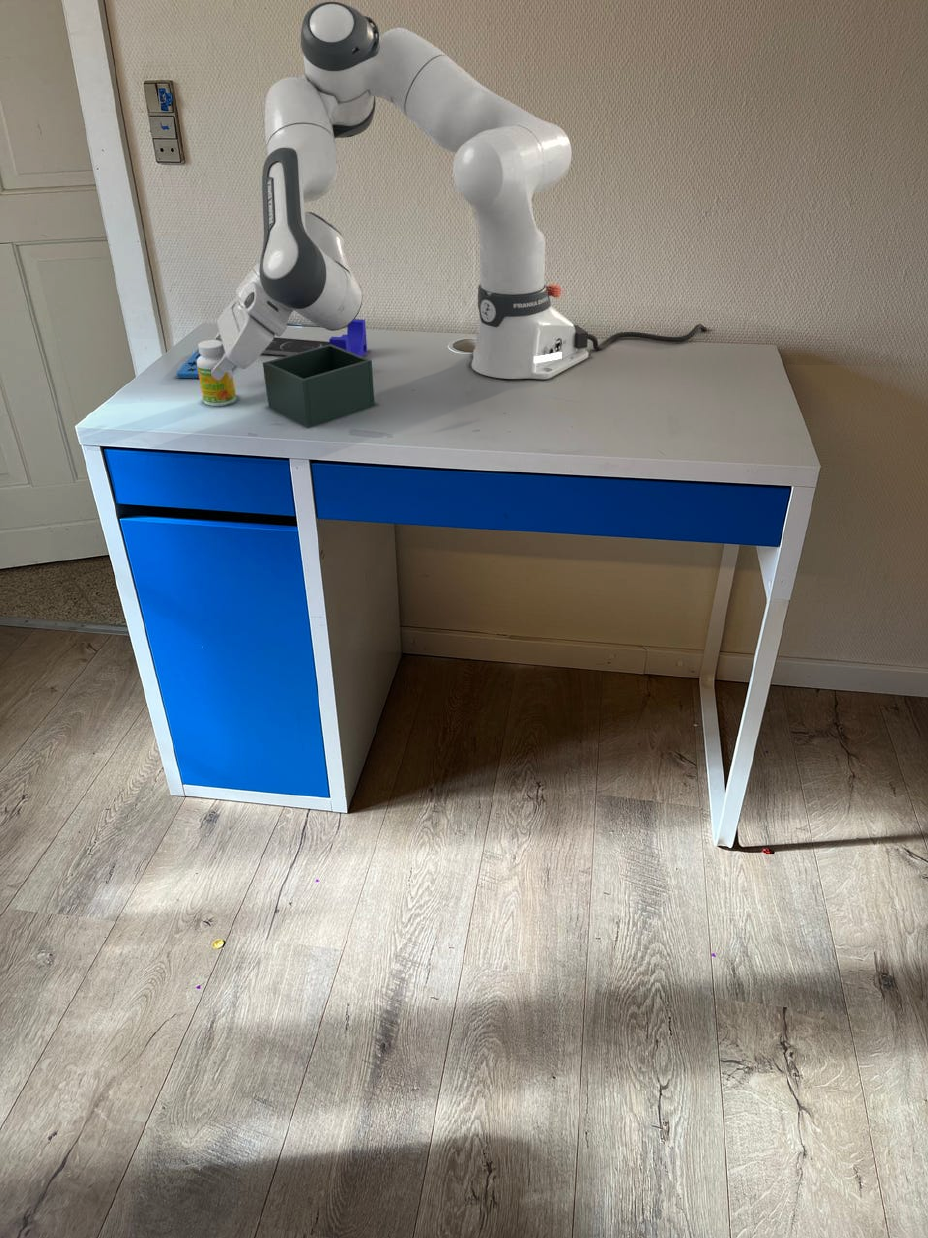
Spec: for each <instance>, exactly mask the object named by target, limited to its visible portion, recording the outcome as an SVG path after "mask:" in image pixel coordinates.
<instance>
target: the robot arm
mask: <svg viewBox="0 0 928 1238" xmlns="http://www.w3.org/2000/svg"><path fill="white" fill-rule="evenodd" d="M300 29H301V30H300V48H301V51H302V57H303V67H304V68H303V69H304V73H302V74H301V76H299V77H297V76H289V77H285V78H281V79H279V80H278V81H276V82H275V83H274V84H272V86H271V87H270V88H269V90H268V91H267V93H266V97H265V102H264V103H265V104H264V136H265V137H264V138H265V144H266V153H267V157H266V158H265V161H264V163H263V167H262V172H261V192H262V193H261V195H262V197H261V199H262V215H263V216H262V219H263V220H262V223H263V243H262V250H261V254H260V261H259V262H257V263H255V265H254V266H253V267H252V268H251V269H250V271H249V272H248V274H247V275H246V276H245V277H244V279H243V280H241V282H240V283H239V285H238V286H237V287H236V289H235V291H234V292H235V293H236V296H235V297H234V298H233V299H232V300H231V302H230V303H229V304H228V305H227V306H226V308H225V309H224V310H223V311H222V312H221V314H220V315H219V317H218V318H217V321H216V324H217V328H218V332H217V333H216V335H215V336H214V339H213V340H219V341H222V343H223V347H224V351H225V354H224V355H223V357H222V359H221V360H220V361H219V363H218V364H215V365H214V367H213V368H212V369H211V371H210V372H211V376H212V377H213V378H215V379H216V380H218V381H219V380H221V379H222V377H223V376H224V375H225V374H226V373H227V372H229V371H230V370H232V371H233V369H234V368H235V367H236V366H237V367H238V368H239V369H241V370H245V369H247V368H249V367H250V366H251V365H252V364H253V363H254V362H255V361H256V360H257V359H258V358H259V357H260V356H261V355H262V354H263V353H262V352H263V351H264V350H265V349H266V348H267V347H268V346H269V345H270V343H271V342H272V340H273V339H274V337H277V338H281V336H282V335H283V334H284V333H285V331H286V330H287V328H288V323H289V322H288V321H289V319H290V317H291V316H292V313H293V312H295V313H297V314H299V315H300V316H302V317H303V318H305V319H307V320H308V321H310V322H311V323H313V324H314V325H316V326H318V327H319V328H322V329H325V330H327V331H331V332H336V331H340V330H342V329H345V328H346V327H347V326H348V325H349V324H350V323H351V322H352V321H353V320H354V319H357V316H358V315H359V313H360V311H361V308H362V305H363V296H364V295H363V289H362V287H361V285H360V283H359V282H358V281H357V279H356V277H355V274H354V272H353V271H352V269H351V266H350V264H349V262H348V259H347V255H346V252H345V238H344V236H343V234H342V233H341V232H340V231H339V230H338V229H337V228H336V226H334V225H333V224H332V223H329V222H328V221H327V220H326V219H325V218H323V217H322V216H320V215H318V214H316V213H315V212H312V211H306V210H305V204H307V203H312V202H316V201H317V200H320V199H322V198H323V197H325V196H326V195H328V193H330V192H331V190H332V189H333V188H334V187H335V185H336V183H337V181H338V179H339V155H338V149H337V144H336V139H345V138H346V139H347V138H352V137H356V136H357V135H360V134H361V133H364V132H365V131H366V130H367V129H368V128H369V127H370V126H371V125H372V123H373V120H374V117H375V111H376V102H377V99H376V98H381V99H383V100H386V101H387V102H389V103H391V104H393V105H394V106H395V107H396V109H398V110H399V111H400V112H401V113H402V114H403V115H404V116H405V117H407V119H408V120H409V121H411V122H412V123H413V124H414V125H415V126H417V127H418V128H419V129H420V130H421V131H422V132H423V133H424V134H426V135H427V136H428V137H429V138H430V139H431V140H433V142H435V144H437V145H438V146H439V147H441V148H442V149H444V150H446V151H449V152H452V153H455V156H454V158H453V164H452V178H453V183H454V186H455V188H456V189H457V192H458V193H459V195H460V196H461V198H463V200H465V201H466V202H467V203H468V205H469V207H470V210H471V212H472V215H473V218H474V221H475V225H476V229H477V234H478V241H479V267H480V269H479V271H480V274H479V276H480V277H479V278H480V281H479V282H480V283H479V285H478V287H477V308H478V313H479V314H478V318H477V319H478V320H477V329H476V336H475V337H476V338H475V346H474V348H473V351H472V356H473V357H472V361H471V365H470V366H471V369H472V370H473V371H474V372H476V373H478V374H480V375H483V376H486V377H489V378H490V377H491V378H496V379H503V380H523V379H530V380H531V379H533V380H549V379H551V378H553V377H555V376H558V375H559V374H560V373H563V372H564V371H566V370H568V369H570V368H572V367H573V366H576V365H577V364H579V363H581V362H582V361H584V360H586V359H588V358H589V351H588V350H587V349H586V348H588V340H590V341H591V342H592V347H593V350H595V351H602V350H604V349H605V348H606V347H608V346H609V345H610V344H611V343H612V342H614V341H616V340H619V339H622V338H639V339H646V340H652V341H656V342H664V343H682V342H686V341H688V340H690V339H692V338H693V337H694V336H695V335H696V334H697V333H698V332H699V331H700V330H701V332H702V333H707V332H708V331H709V330H708V328H707V327H706V326H705V325H704V324H703V325H704V326H705V327H704V326H703V325H702V323H698V324H696V325H695V326H694V328H692V330H691V331H689V333H687V334H684V335H681V336H665V335H659V334H658V335H657V334H652V333H646V332H640V331H639V332H638V331H621V332H617V333H614V334H612V335H611V336H610V337H608V338H607V339H606V340H605V341H604V342H603V344H601V345H599V340H598V337H596V336H595V335H593V334H592V333H591V334H590V333H589V332H588V331H586V330H585V329H584V328H582V327H580V326H579V325H578V324H574V323H573V322H572V321H571V320H570V319H569V318H567V317H566V316H565V315H563V314H562V313H561V312H560V311H558V309H556V308H555V307H554V306H553V305H552V301H551V298H550V297H553V298H555V299H558V298H560V297H561V295H562V287H561V286H560V285H554V284H552V283H551V284H549V285H546V284H545V275H546V274H545V272H546V250H547V249H546V248H547V247H546V246H547V243H546V242H547V241H546V238H545V234H544V233H542V230H540V229H538V226H537V223H536V220H535V215H534V210H533V206H532V205H533V204H532V202H533V201H532V199H533V196H535V195H539V194H541V193H545V192H546V191H549V190H550V189H551V188H552V187H554V186H555V185H557V184H558V183H559V182H560V181H561V180H562V179H563V178H564V177H565V176H566V174H567V173H568V172H569V170H570V166H571V163H572V155H573V154H572V153H573V152H572V145H571V141H570V139H569V137H568V135H567V133H566V132H565V131H564V129H562V127H560V126H558V125H557V124H555V123H552V122H549V121H547V120H543V119H541V118H539V117H537V116H535V115H533V114H532V113H530V112H528V111H526V110H525V109H523V108H521V106H518V105H516V104H515V103H513V102H511V101H510V100H508V99H506V98H504V97H502V96H500V95H499V94H497V93H495V92H493V91H492V90H490V89H488V88H487V87H486V86H484V85H482V84H481V83H480V82H479V81H477V80H476V79H475V78H474V77H473V76H471V74H470V73H468V72H467V71H466V70H464V68H462V67H461V66H460V65H458V63H456V62H455V61H454V60H453V59H451V58H450V56H448V55H447V54H446V53H445V52H443V51H442V50H441V49H440V48H439V47H437V46H436V45H434V44H433V43H432V42H430V41H428V40H427V39H425V38H424V37H422V36H420V35H418V34H416V33H415V32H413V31H411V30H409V29H407V28H405V27H394V28H391V29H388V30H387V31H385V32H384V33H382V34H381V31H380V29H379V27H378V25H377V24H376V22H375V21H374V20H373V19H372V18H371V17H370V16H366V15H363V14H362V13H361V12H360V11H359V10H357V9H356V8H354V7H352V6H350V5H348V4H345V3H342V2H338V1H324V2H320V3H317V4H316V5H314V6H313V7H311V8H310V9H309V10H308V11H307V12H306V14H305V15H304V17H303V20H302V23H301V28H300Z"/></svg>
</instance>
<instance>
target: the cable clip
mask: <svg viewBox="0 0 928 1238" xmlns="http://www.w3.org/2000/svg"><path fill="white" fill-rule="evenodd" d="M346 327H347V331H346V334H342V335H341V336H331V337H330V338H329V339H328V340H329V341H328V342H330V344H332V345H334V346H337V347H339V348H342V349H344V350H347V351H349V352H352V353H354V354H357V355H359V356H362V357H365V355H366V354H367V352H368V341H367V328H366V319H360V318H359V319H358V318H355V319H354V320H353V321H352V322H351V323H350V324H349V325H348V326H346Z"/></svg>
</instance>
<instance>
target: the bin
mask: <svg viewBox="0 0 928 1238" xmlns="http://www.w3.org/2000/svg"><path fill="white" fill-rule="evenodd" d="M262 369H263V377H264V382H265V390H266V398H267V407H268V409H270V410H272V411H274V412H276V413H279V414H280V415H282V416H283V417H284V416H285V417H286V418H288V419H290V420H292V421H294V422H296V423H298V424H300V425H302V426H304V427H306V428H310V427H314V426H317V425H320V424H323V423H325V422H328V421H332V420H335V419H338V418H340V417H343V416H347V415H350V414H353V413H356V412H359V411H362V410H365V409H368V408H371V407H374V406H375V405H376V403H375V388H374V376H373V374H374V373H373V360H372V359H369V358H366V357H365V356H363V357H362V356H359V355H357V354H354V353H352V352H349V351H347V350H344V349H342V348H339V347H337V346H334V345H332V344H329V345H325V346H322V347H318V348H314V349H311V350H307V351H304V352H300V353H296V354H293V355H289V356H288V355H285V356H282V357H279V358H275V359H271V360H268V361H265V362H262Z"/></svg>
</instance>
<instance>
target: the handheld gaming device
mask: <svg viewBox="0 0 928 1238" xmlns="http://www.w3.org/2000/svg"><path fill="white" fill-rule="evenodd" d="M223 354H225V351H224V353H223ZM200 356H201V354H200V353H199V348H197V350H195V352H194V353H193V354H192V355H191V356H190V357H189V358H188V360H186V362H185V363H184V364H183V365H182V366H181V367H180V368H179V369H178V370H177V372H176V377H177V379H199V373H198V367H197V359H198V358H199V357H200Z"/></svg>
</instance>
